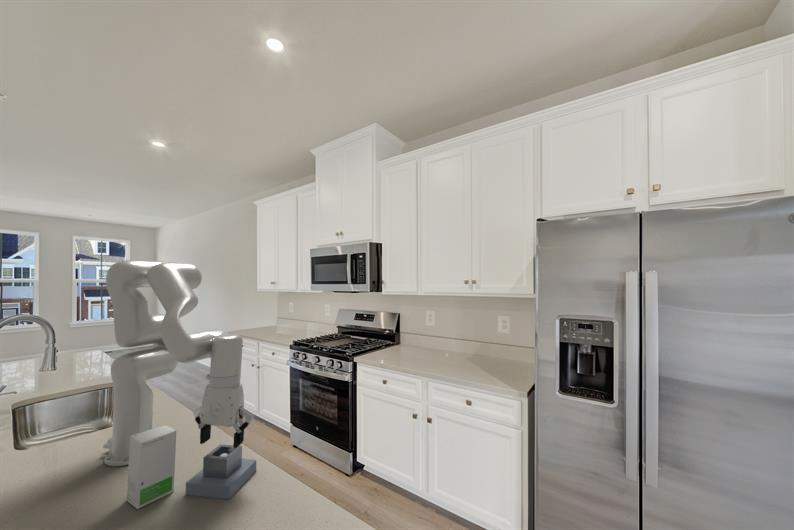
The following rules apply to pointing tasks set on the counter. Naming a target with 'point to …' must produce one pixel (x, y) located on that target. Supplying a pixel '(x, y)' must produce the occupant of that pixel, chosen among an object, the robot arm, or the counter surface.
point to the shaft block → (221, 482)
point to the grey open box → (222, 462)
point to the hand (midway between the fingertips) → (221, 443)
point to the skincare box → (151, 465)
